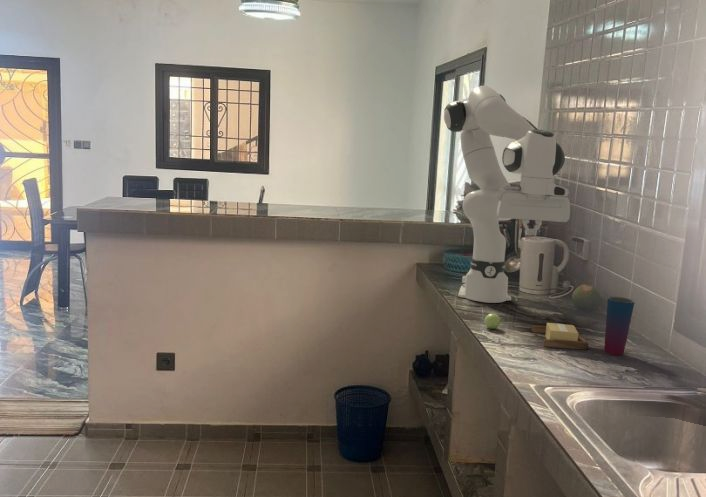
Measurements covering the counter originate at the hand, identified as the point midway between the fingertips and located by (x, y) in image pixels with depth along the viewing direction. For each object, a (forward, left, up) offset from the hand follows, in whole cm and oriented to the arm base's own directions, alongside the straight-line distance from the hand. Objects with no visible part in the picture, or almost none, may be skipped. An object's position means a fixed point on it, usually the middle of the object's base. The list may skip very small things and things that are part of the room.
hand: (530, 235), depth 185 cm
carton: (+6, +10, -29) cm, 32 cm away
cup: (+13, +23, -29) cm, 39 cm away
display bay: (+5, +9, -29) cm, 31 cm away
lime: (-2, -8, -29) cm, 30 cm away
